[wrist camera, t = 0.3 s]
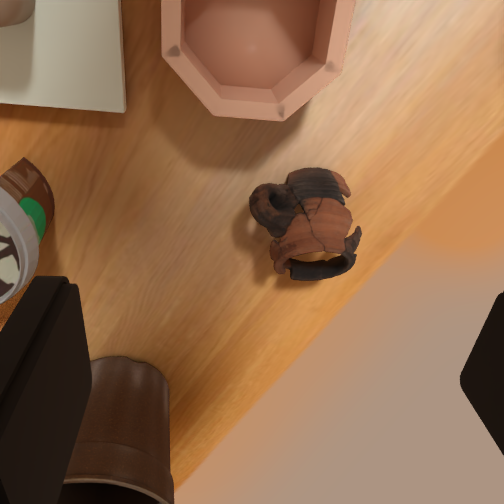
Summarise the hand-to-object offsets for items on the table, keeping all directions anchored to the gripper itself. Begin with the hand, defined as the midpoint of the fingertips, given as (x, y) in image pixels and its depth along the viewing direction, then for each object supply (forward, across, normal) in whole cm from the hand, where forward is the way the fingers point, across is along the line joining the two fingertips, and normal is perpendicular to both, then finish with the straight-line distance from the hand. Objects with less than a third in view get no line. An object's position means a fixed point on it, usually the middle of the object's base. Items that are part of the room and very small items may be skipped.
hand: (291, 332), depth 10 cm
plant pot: (+30, +12, +37) cm, 49 cm away
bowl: (+30, -1, -5) cm, 30 cm away
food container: (+30, +18, +13) cm, 37 cm away
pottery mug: (+30, -7, +11) cm, 33 cm away
